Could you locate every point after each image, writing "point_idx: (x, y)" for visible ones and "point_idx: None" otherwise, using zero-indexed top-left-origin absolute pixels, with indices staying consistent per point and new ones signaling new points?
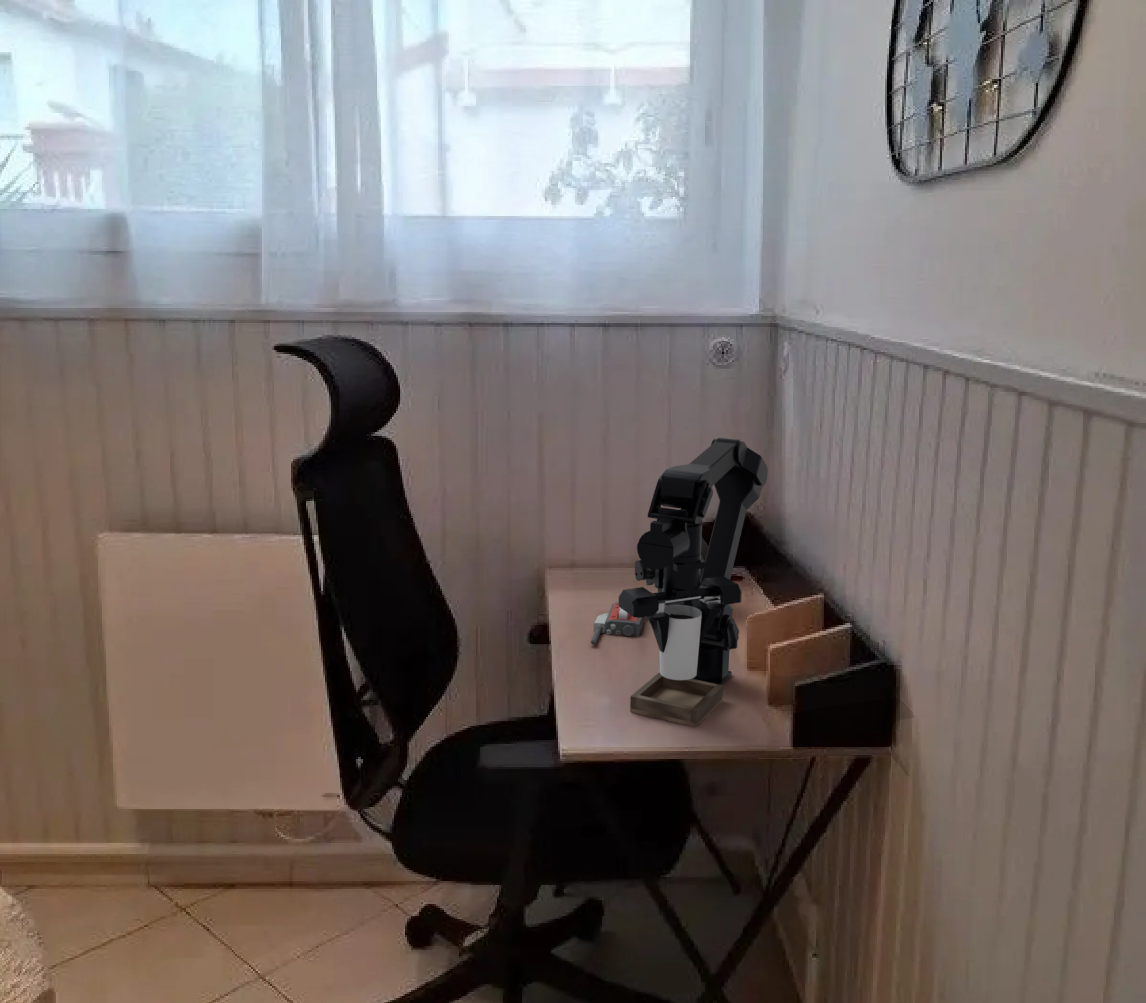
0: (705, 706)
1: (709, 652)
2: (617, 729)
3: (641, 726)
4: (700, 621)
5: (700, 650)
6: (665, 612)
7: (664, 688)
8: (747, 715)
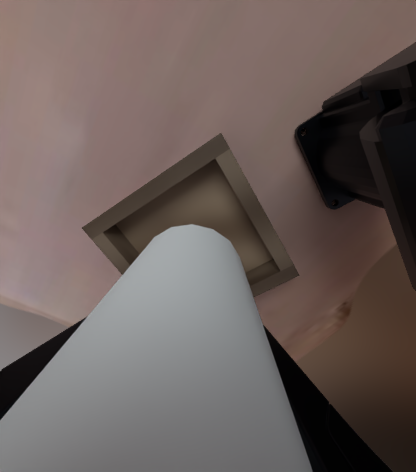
0: None
1: (379, 196)
2: (52, 264)
3: (96, 273)
4: None
5: (367, 171)
6: (72, 425)
7: (213, 168)
8: (280, 317)
